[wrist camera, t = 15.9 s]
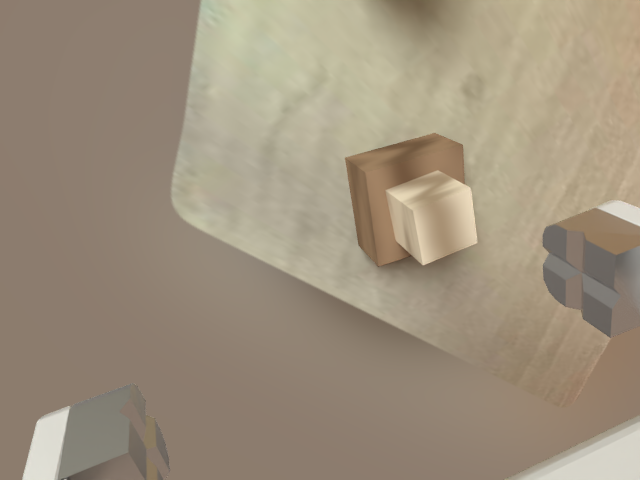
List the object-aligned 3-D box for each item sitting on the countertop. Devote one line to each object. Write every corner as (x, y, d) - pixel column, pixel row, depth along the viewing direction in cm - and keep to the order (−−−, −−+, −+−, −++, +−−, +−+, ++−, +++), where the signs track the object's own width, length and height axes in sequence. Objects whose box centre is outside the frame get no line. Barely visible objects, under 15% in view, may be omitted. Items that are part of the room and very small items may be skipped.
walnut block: (433, 132, 47) (462, 144, 43) (439, 218, 52) (466, 237, 47) (344, 156, 46) (365, 172, 41) (357, 244, 50) (378, 266, 45)
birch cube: (437, 170, 43) (470, 188, 39) (445, 220, 46) (477, 242, 41) (385, 190, 43) (412, 210, 38) (395, 240, 45) (422, 265, 41)
